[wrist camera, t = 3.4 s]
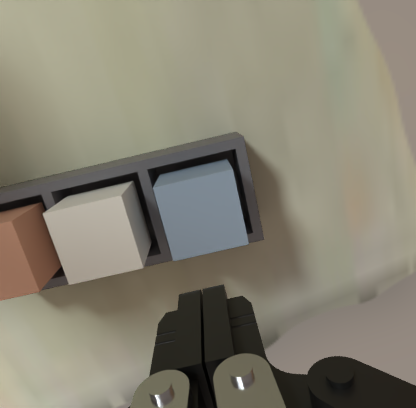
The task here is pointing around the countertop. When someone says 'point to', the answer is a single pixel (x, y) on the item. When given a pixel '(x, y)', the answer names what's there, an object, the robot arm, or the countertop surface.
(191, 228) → the slate key
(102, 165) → the key panel
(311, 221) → the countertop surface
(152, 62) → the countertop surface
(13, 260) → the terracotta key
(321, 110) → the countertop surface
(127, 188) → the white key
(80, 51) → the countertop surface
